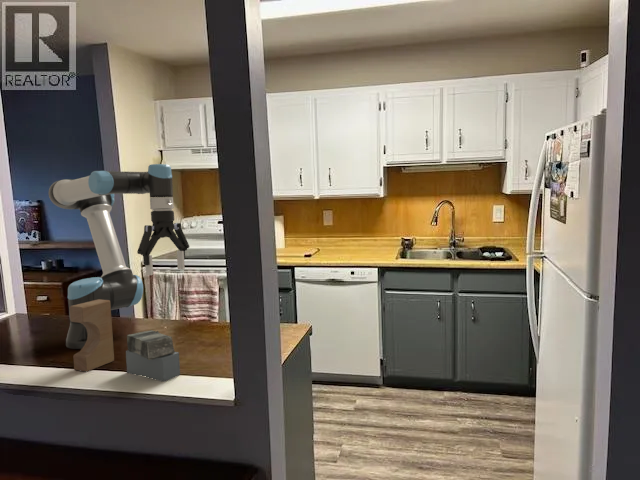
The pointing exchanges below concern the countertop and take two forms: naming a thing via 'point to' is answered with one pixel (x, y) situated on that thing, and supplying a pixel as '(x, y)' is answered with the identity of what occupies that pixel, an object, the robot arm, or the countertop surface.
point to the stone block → (150, 344)
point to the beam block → (154, 366)
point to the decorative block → (94, 334)
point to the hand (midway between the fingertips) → (165, 271)
